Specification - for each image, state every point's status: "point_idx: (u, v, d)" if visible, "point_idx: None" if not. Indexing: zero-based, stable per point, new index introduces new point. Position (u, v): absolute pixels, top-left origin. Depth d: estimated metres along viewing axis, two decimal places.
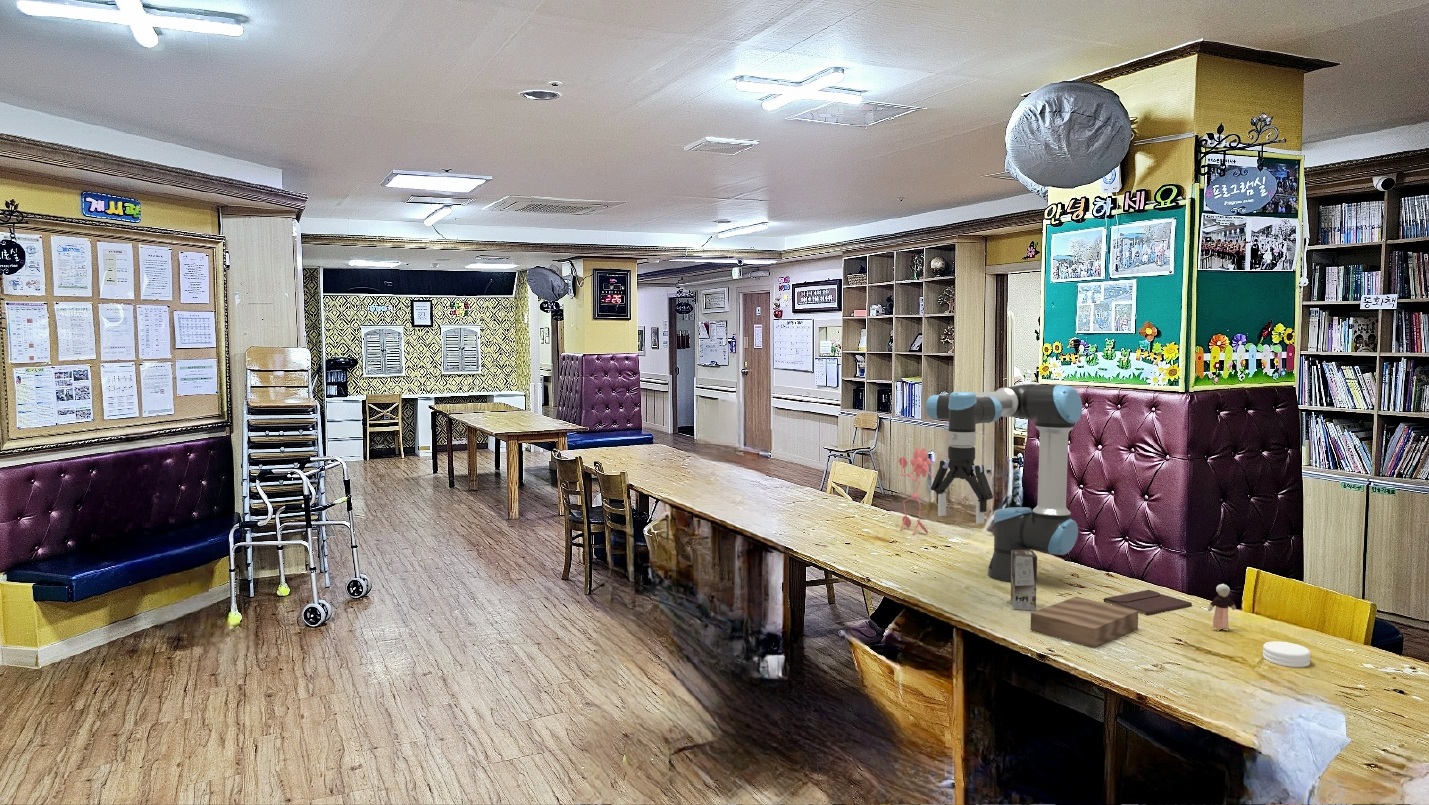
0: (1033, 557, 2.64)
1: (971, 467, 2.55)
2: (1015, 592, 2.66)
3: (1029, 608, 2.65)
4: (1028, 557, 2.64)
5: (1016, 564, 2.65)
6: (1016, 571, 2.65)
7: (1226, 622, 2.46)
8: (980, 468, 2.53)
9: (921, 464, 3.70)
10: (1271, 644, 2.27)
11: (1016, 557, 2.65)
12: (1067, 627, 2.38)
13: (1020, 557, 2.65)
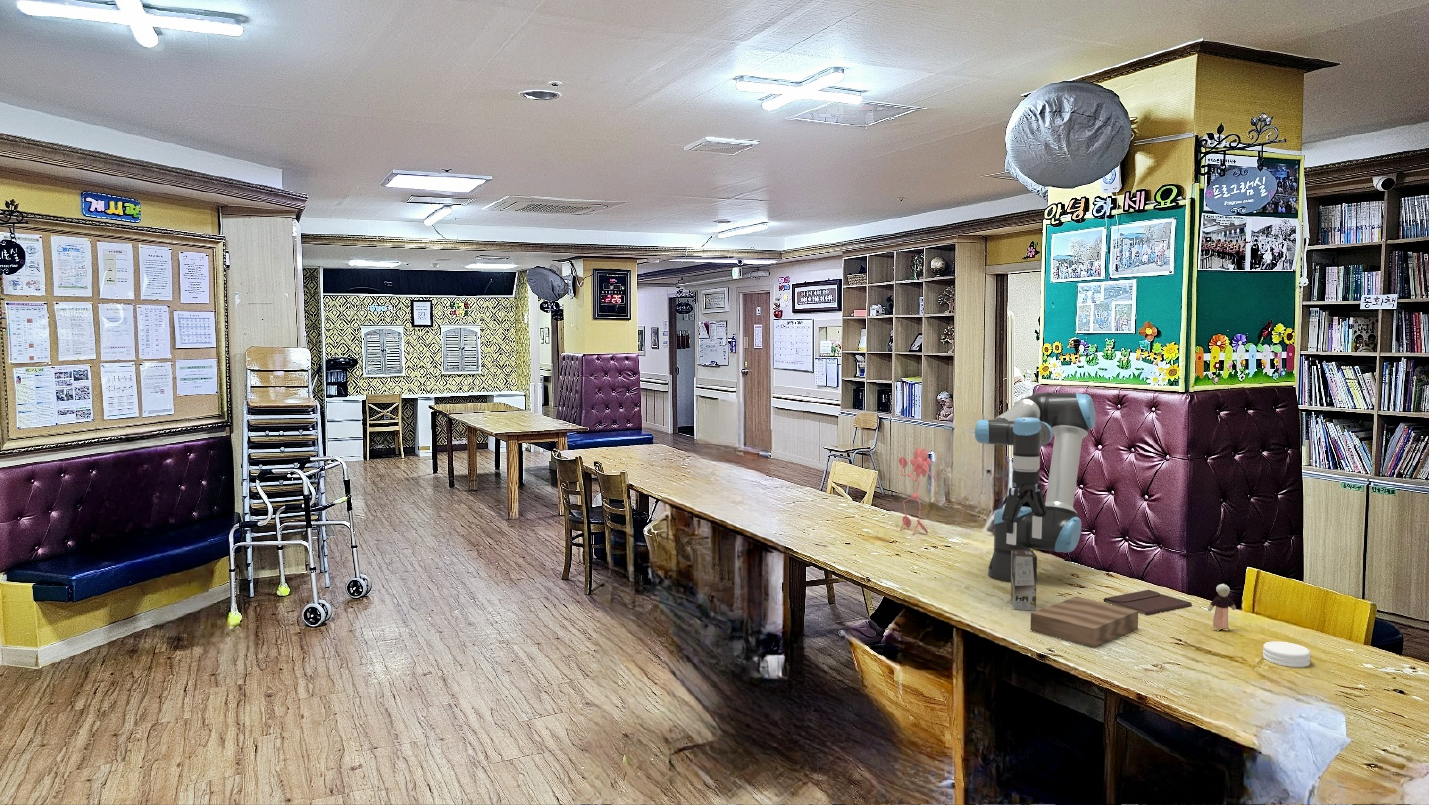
0: (1033, 557, 2.64)
1: None
2: (1015, 592, 2.66)
3: (1029, 608, 2.65)
4: (1028, 557, 2.64)
5: (1016, 564, 2.65)
6: (1016, 571, 2.65)
7: (1226, 622, 2.46)
8: (1011, 491, 2.63)
9: (921, 464, 3.70)
10: (1271, 644, 2.27)
11: (1016, 557, 2.65)
12: (1067, 627, 2.38)
13: (1020, 557, 2.65)
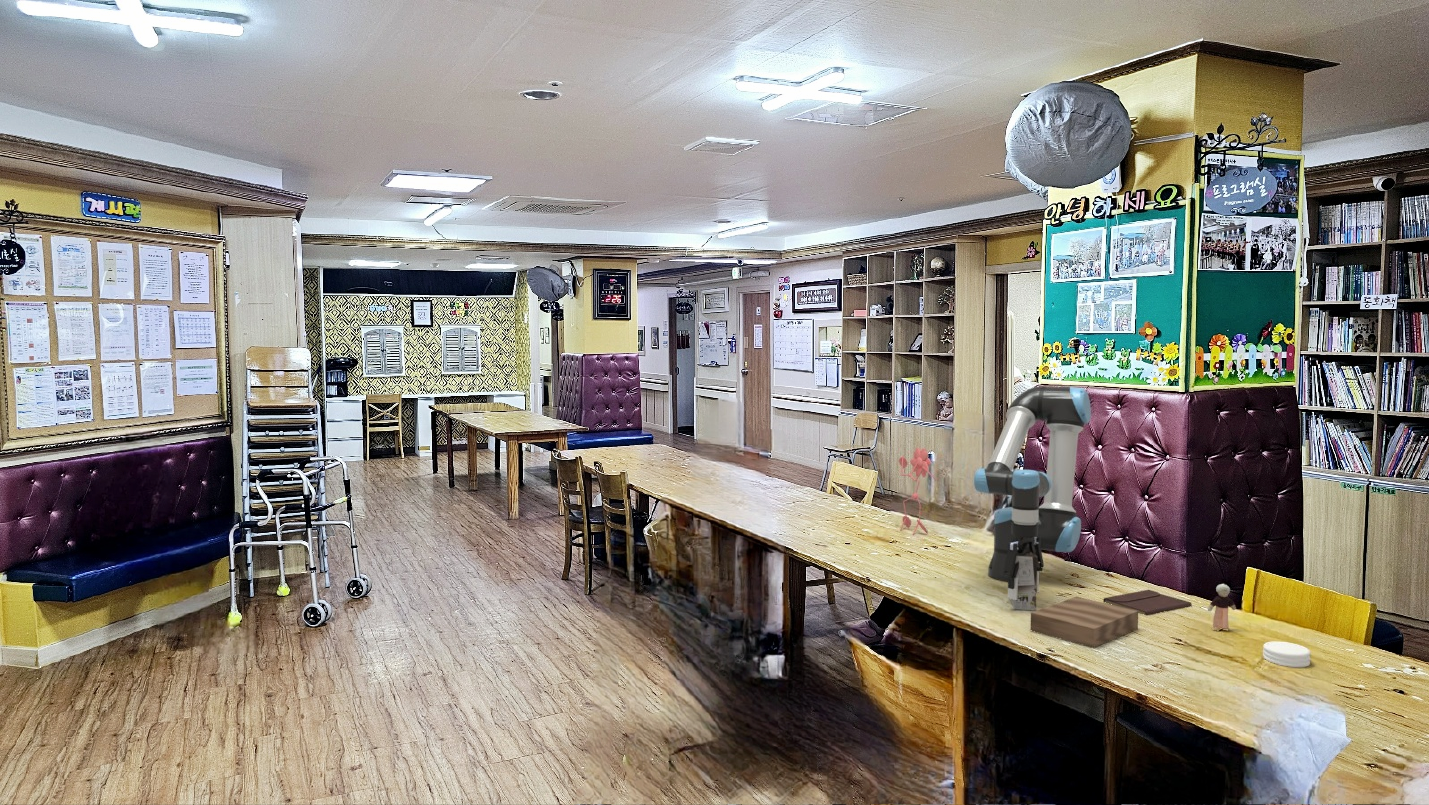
0: (1033, 557, 2.64)
1: (1014, 543, 2.66)
2: None
3: (1029, 608, 2.65)
4: (1028, 557, 2.64)
5: None
6: None
7: (1226, 622, 2.46)
8: (1010, 546, 2.64)
9: (921, 464, 3.70)
10: (1270, 644, 2.27)
11: (1016, 557, 2.65)
12: (1067, 627, 2.38)
13: (1020, 557, 2.65)
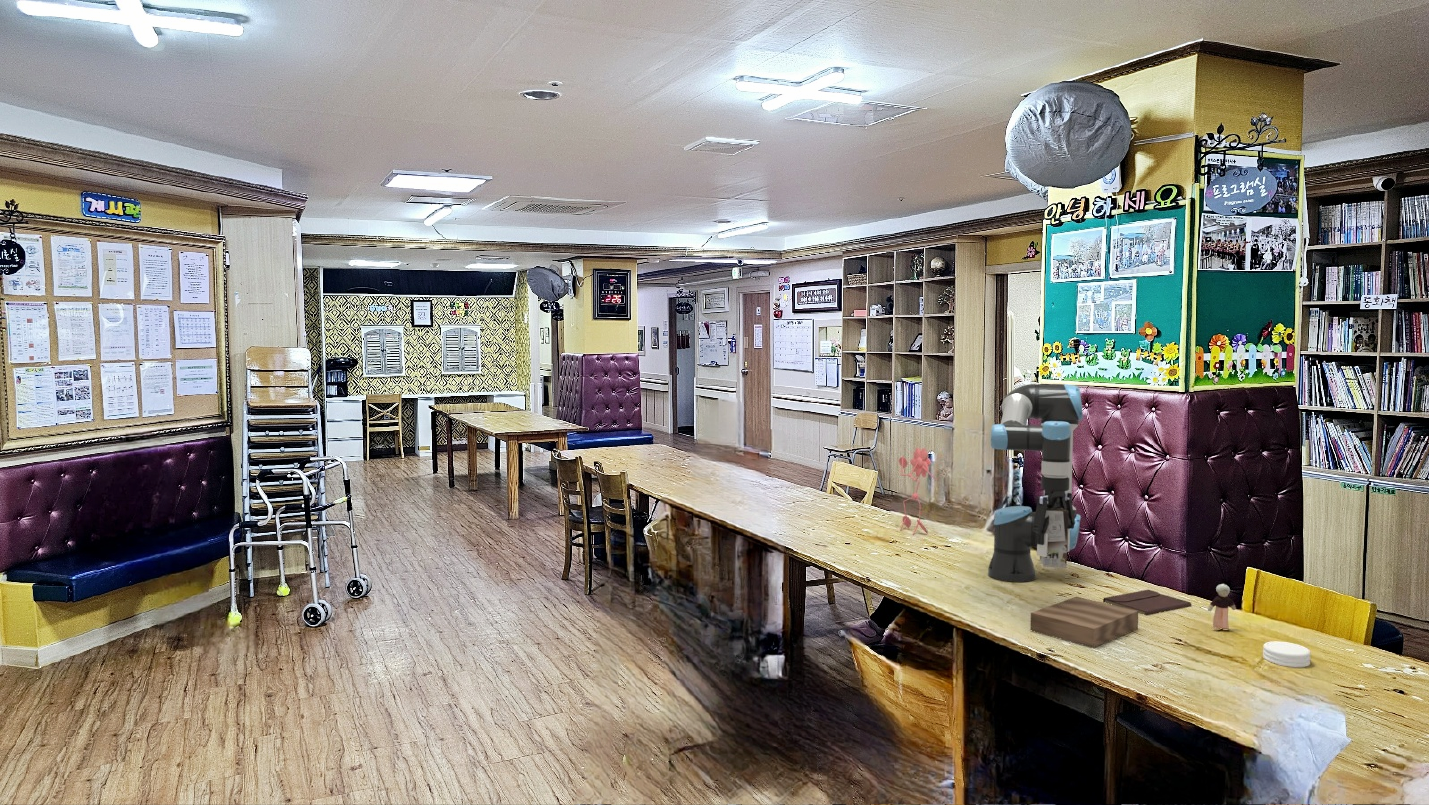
0: (1064, 511, 2.51)
1: (1044, 497, 2.54)
2: None
3: (1059, 565, 2.52)
4: (1058, 511, 2.52)
5: None
6: None
7: (1226, 622, 2.46)
8: (1040, 499, 2.52)
9: (921, 464, 3.70)
10: (1270, 643, 2.27)
11: (1046, 511, 2.52)
12: (1067, 627, 2.38)
13: (1050, 511, 2.52)
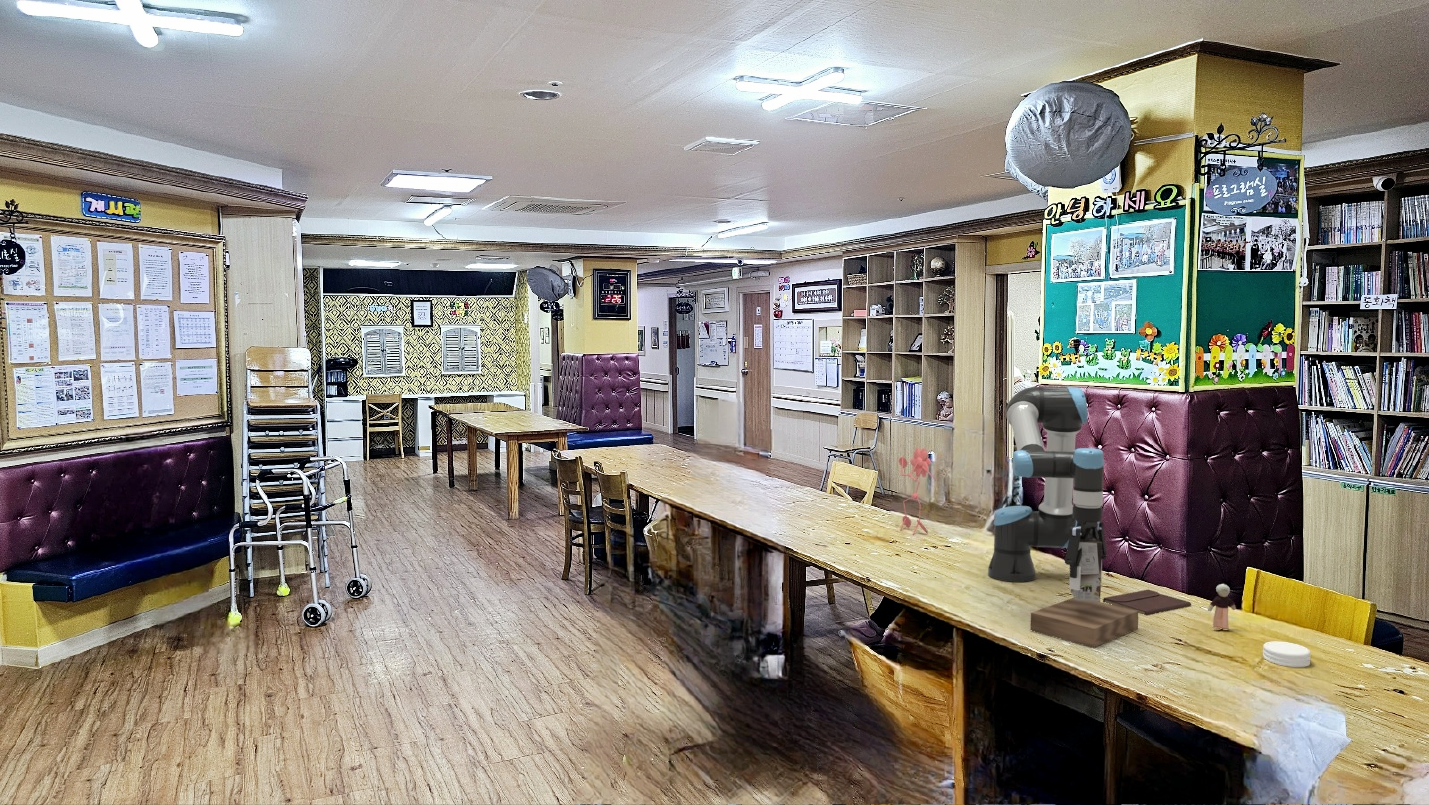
0: (1098, 543, 2.41)
1: (1076, 528, 2.43)
2: None
3: (1093, 599, 2.42)
4: (1092, 543, 2.41)
5: None
6: None
7: (1226, 622, 2.46)
8: (1072, 531, 2.41)
9: (921, 464, 3.70)
10: (1270, 643, 2.27)
11: (1079, 543, 2.42)
12: (1067, 627, 2.38)
13: (1083, 543, 2.42)
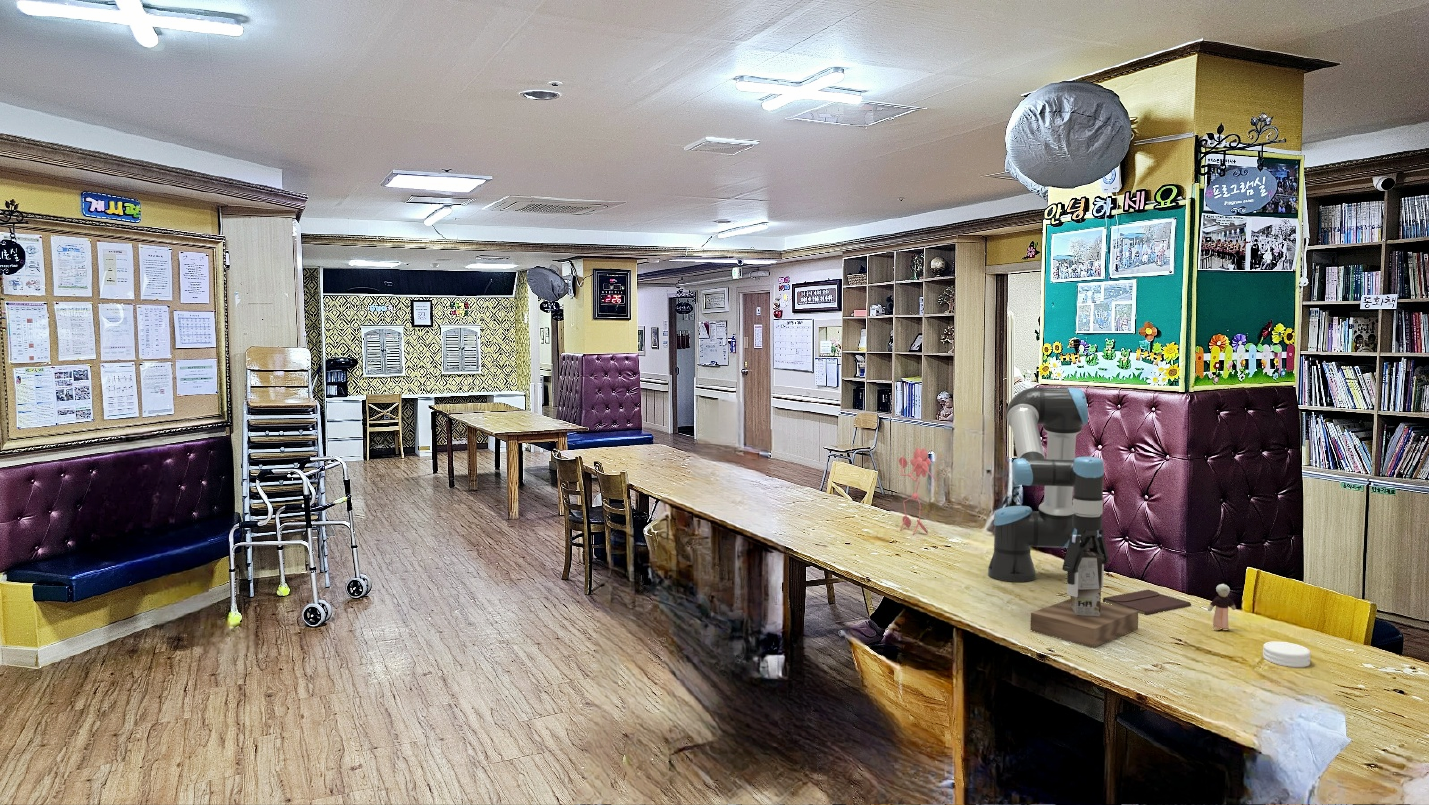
0: (1097, 558, 2.42)
1: None
2: None
3: (1093, 614, 2.43)
4: (1092, 558, 2.42)
5: (1079, 566, 2.43)
6: (1079, 573, 2.43)
7: (1226, 622, 2.46)
8: (1072, 538, 2.42)
9: (921, 464, 3.70)
10: (1270, 643, 2.27)
11: None
12: (1067, 627, 2.38)
13: (1083, 558, 2.42)
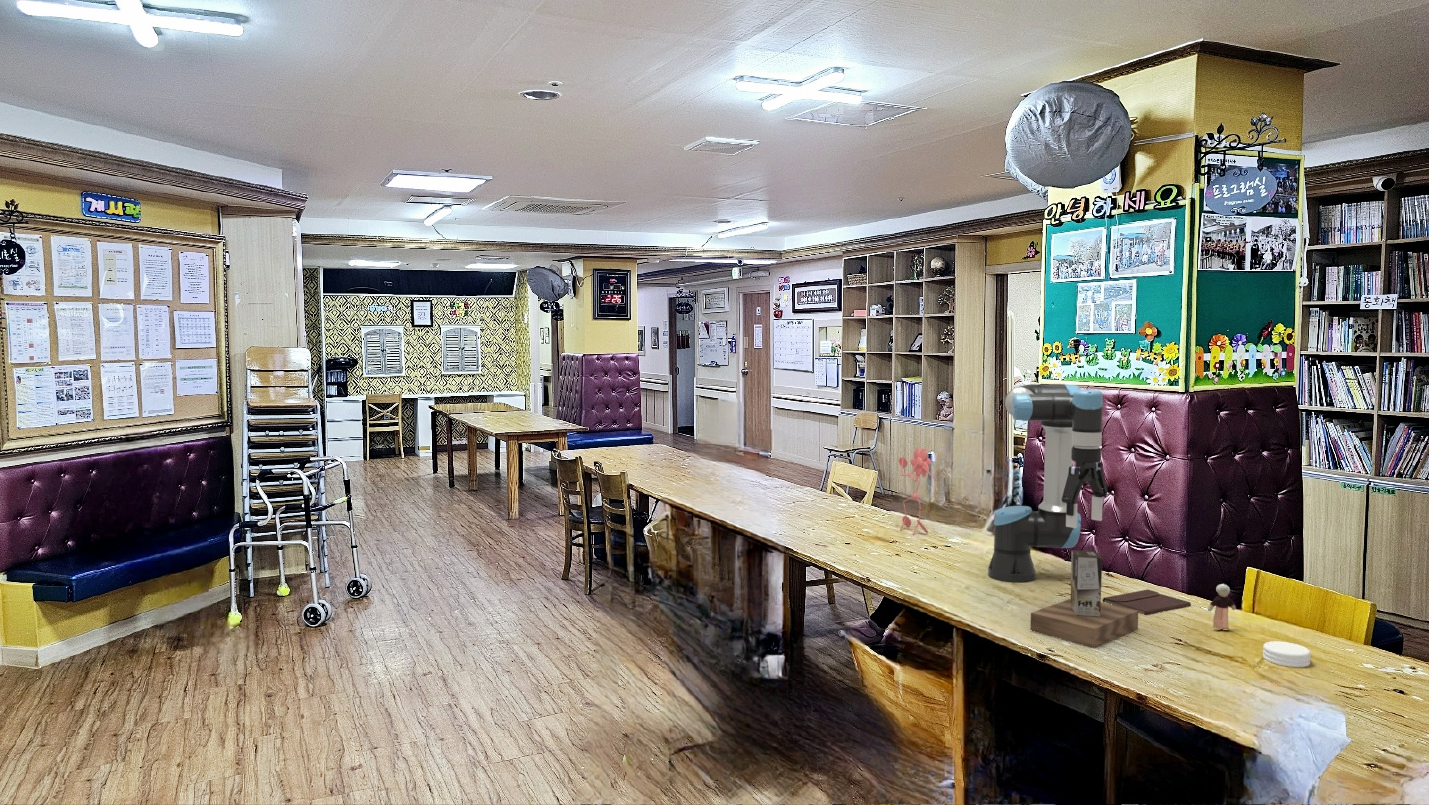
0: (1098, 558, 2.42)
1: None
2: (1077, 596, 2.43)
3: (1093, 614, 2.43)
4: (1092, 558, 2.42)
5: (1079, 566, 2.43)
6: (1079, 573, 2.43)
7: (1226, 622, 2.46)
8: (1071, 469, 2.43)
9: (921, 464, 3.70)
10: (1270, 643, 2.26)
11: (1079, 558, 2.43)
12: (1067, 627, 2.38)
13: (1083, 558, 2.42)
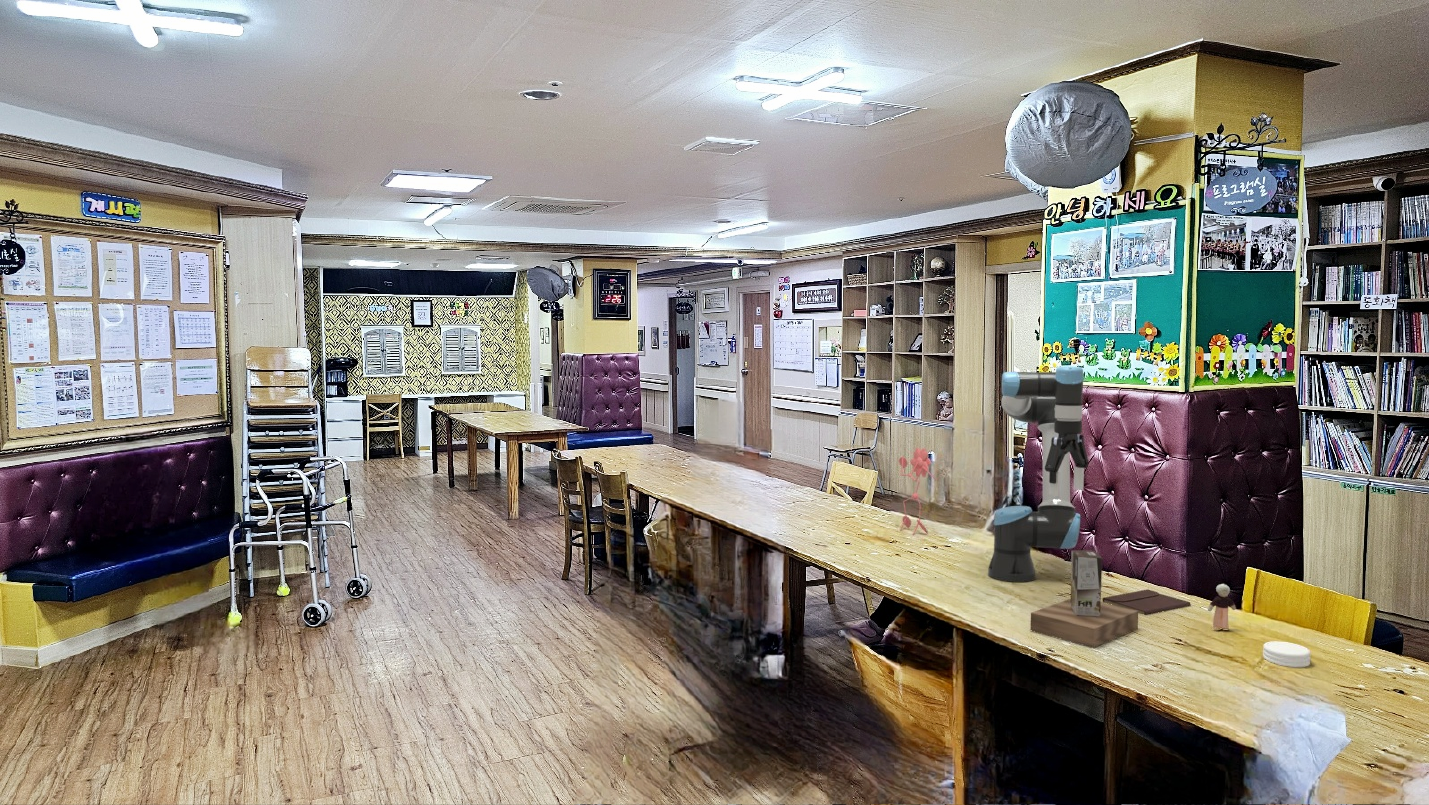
0: (1098, 558, 2.42)
1: None
2: (1077, 596, 2.43)
3: (1093, 614, 2.43)
4: (1092, 558, 2.42)
5: (1079, 566, 2.43)
6: (1079, 573, 2.43)
7: (1226, 622, 2.46)
8: (1054, 440, 2.60)
9: (921, 464, 3.70)
10: (1270, 644, 2.26)
11: (1079, 558, 2.43)
12: (1067, 627, 2.38)
13: (1083, 558, 2.42)
